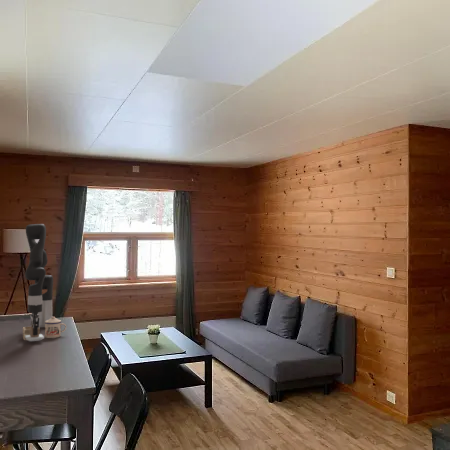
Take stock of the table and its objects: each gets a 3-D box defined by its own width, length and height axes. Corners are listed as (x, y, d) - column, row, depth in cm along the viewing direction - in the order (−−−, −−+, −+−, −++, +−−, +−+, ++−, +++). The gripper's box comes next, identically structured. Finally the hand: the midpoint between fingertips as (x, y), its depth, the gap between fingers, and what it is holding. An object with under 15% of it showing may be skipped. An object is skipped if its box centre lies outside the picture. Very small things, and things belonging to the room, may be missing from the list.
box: (22, 337, 271) (22, 327, 271) (37, 336, 275) (37, 325, 275) (24, 340, 264) (24, 329, 264) (39, 338, 268) (39, 328, 268)
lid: (24, 339, 261) (25, 326, 261) (41, 337, 265) (41, 325, 265) (27, 342, 253) (27, 329, 254) (44, 340, 258) (44, 327, 258)
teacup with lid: (44, 338, 268) (45, 318, 268) (44, 335, 277) (44, 315, 277) (66, 337, 273) (66, 317, 273) (65, 334, 281) (66, 314, 281)
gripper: (25, 302, 264) (25, 332, 264) (29, 305, 252) (29, 337, 251) (40, 301, 268) (39, 331, 267) (44, 304, 256) (44, 336, 255)
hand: (34, 334), depth 259 cm, fingers open, 4 cm apart
